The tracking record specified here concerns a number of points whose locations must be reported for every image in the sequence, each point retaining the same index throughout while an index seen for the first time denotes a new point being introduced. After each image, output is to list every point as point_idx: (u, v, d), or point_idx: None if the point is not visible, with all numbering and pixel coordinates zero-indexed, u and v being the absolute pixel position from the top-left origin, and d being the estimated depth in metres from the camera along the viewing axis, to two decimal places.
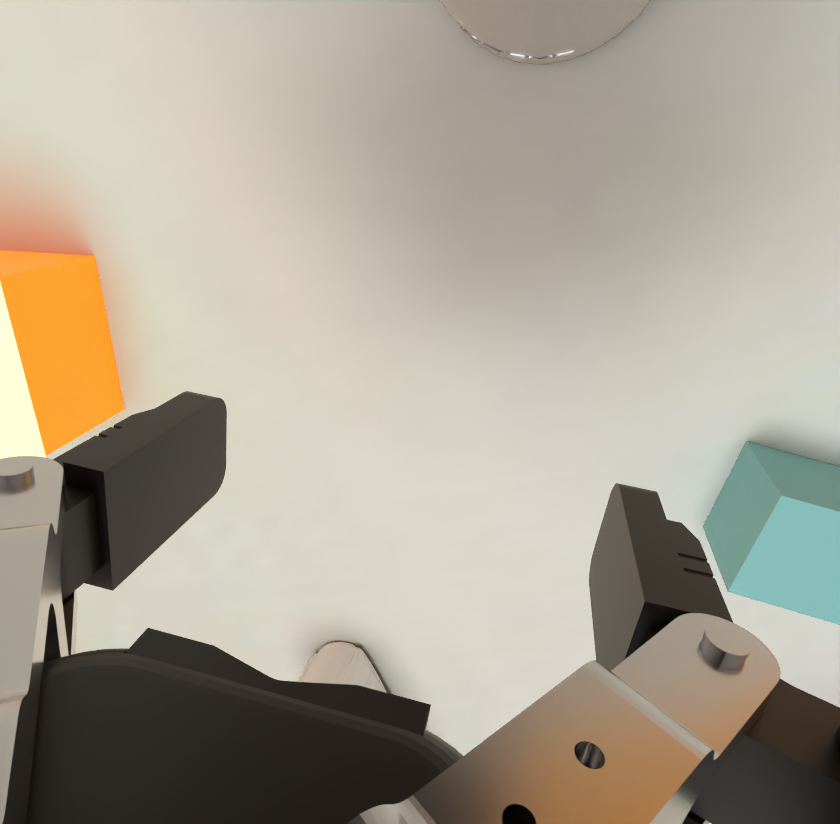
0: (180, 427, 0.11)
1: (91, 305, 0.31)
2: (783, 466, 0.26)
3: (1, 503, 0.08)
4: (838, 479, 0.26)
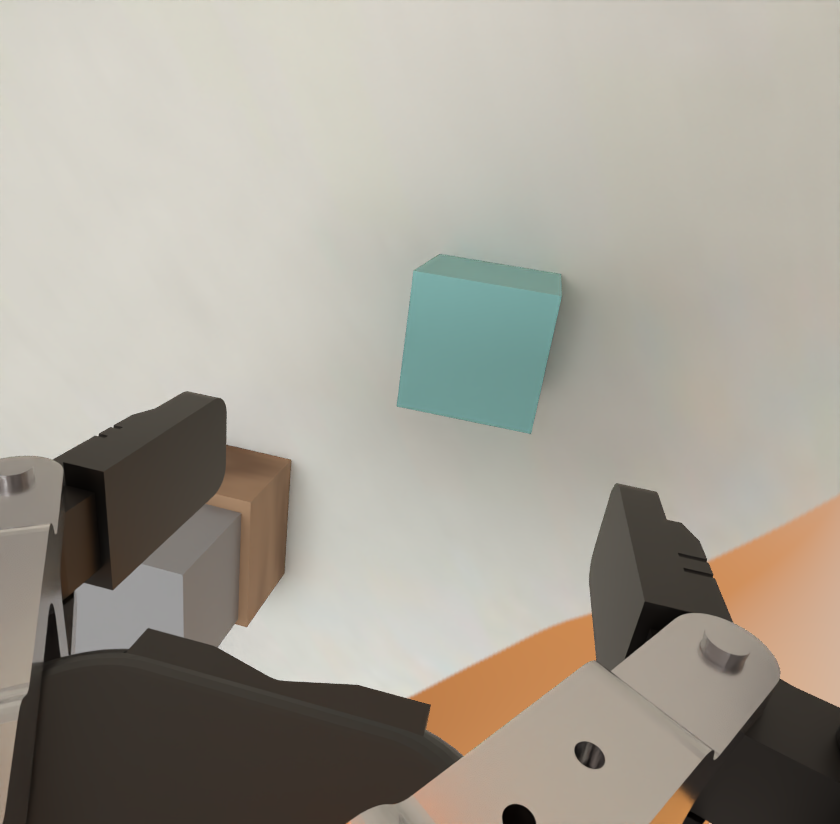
0: (180, 427, 0.11)
1: None
2: None
3: (1, 503, 0.08)
4: None
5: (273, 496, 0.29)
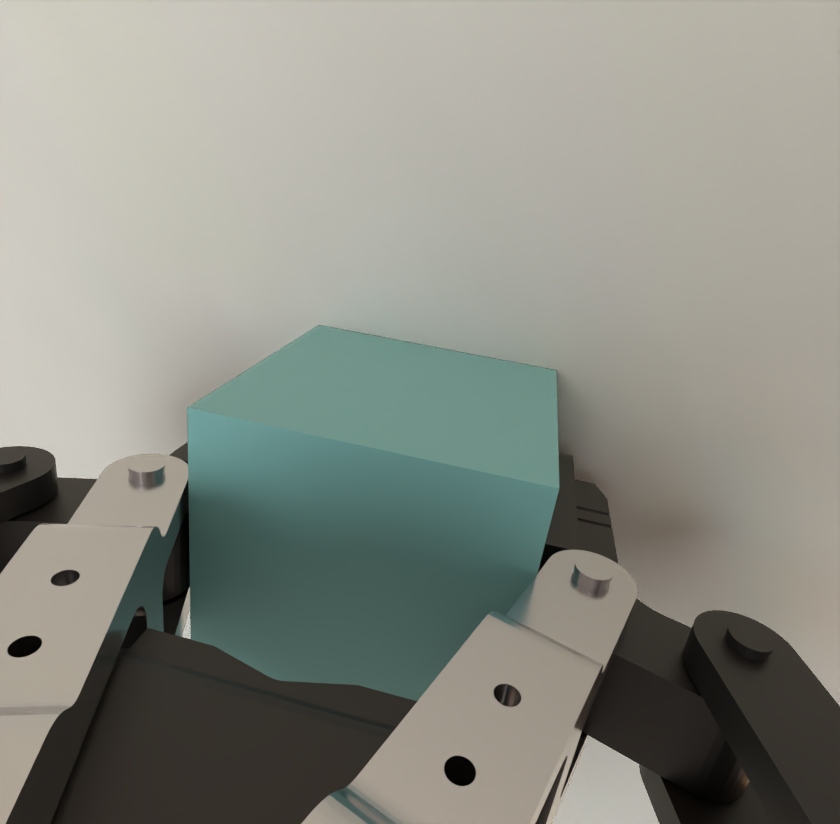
0: None
1: None
2: None
3: (145, 498, 0.08)
4: None
5: None
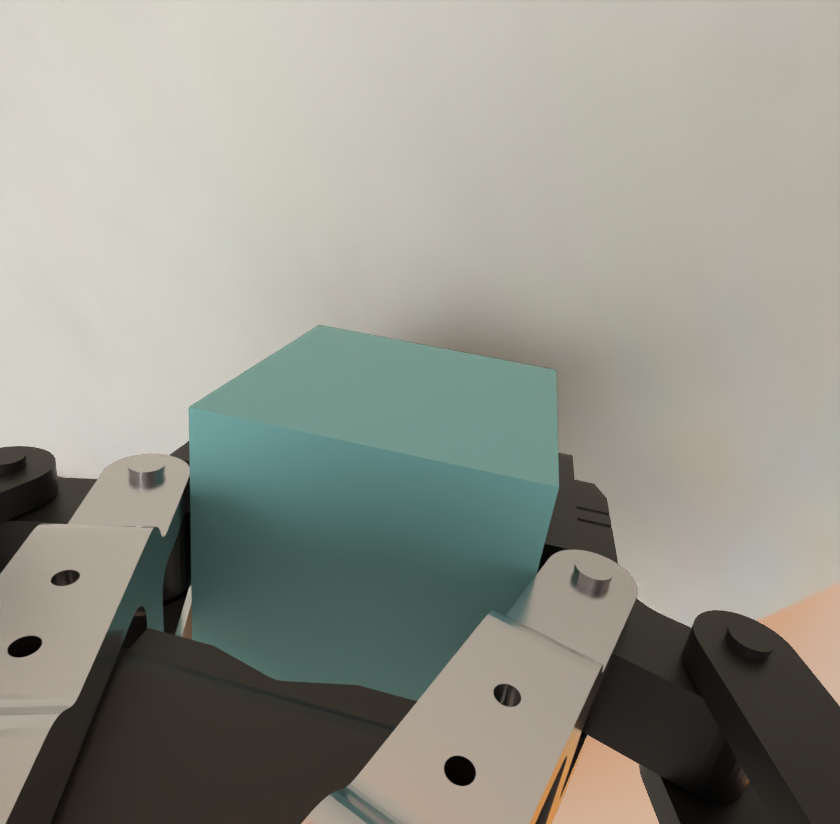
0: None
1: None
2: None
3: (146, 498, 0.08)
4: None
5: None
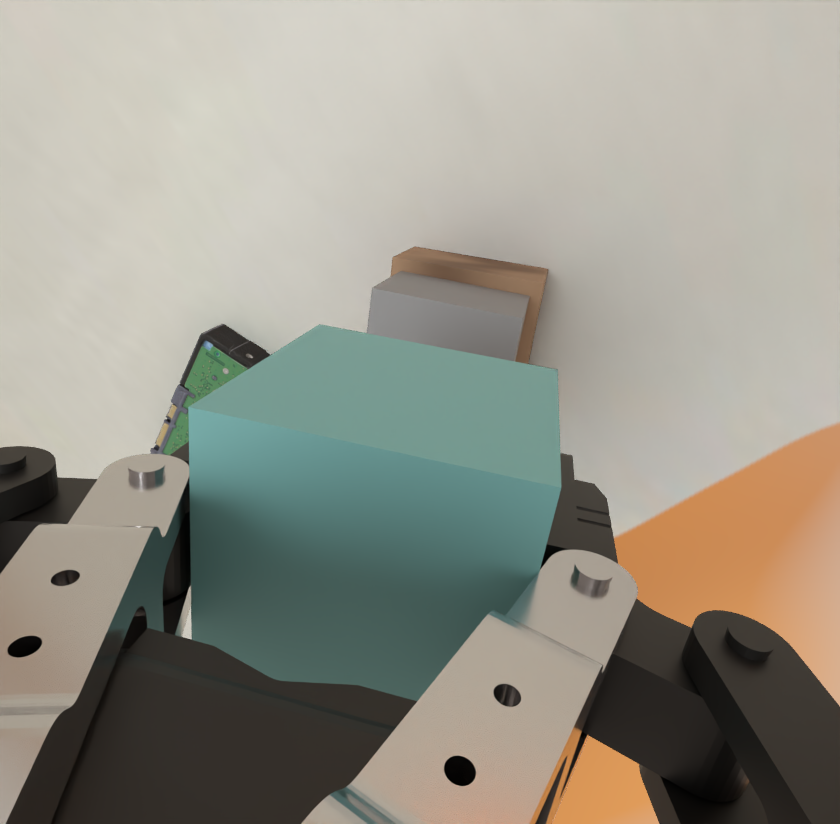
0: None
1: None
2: None
3: (146, 498, 0.08)
4: None
5: None
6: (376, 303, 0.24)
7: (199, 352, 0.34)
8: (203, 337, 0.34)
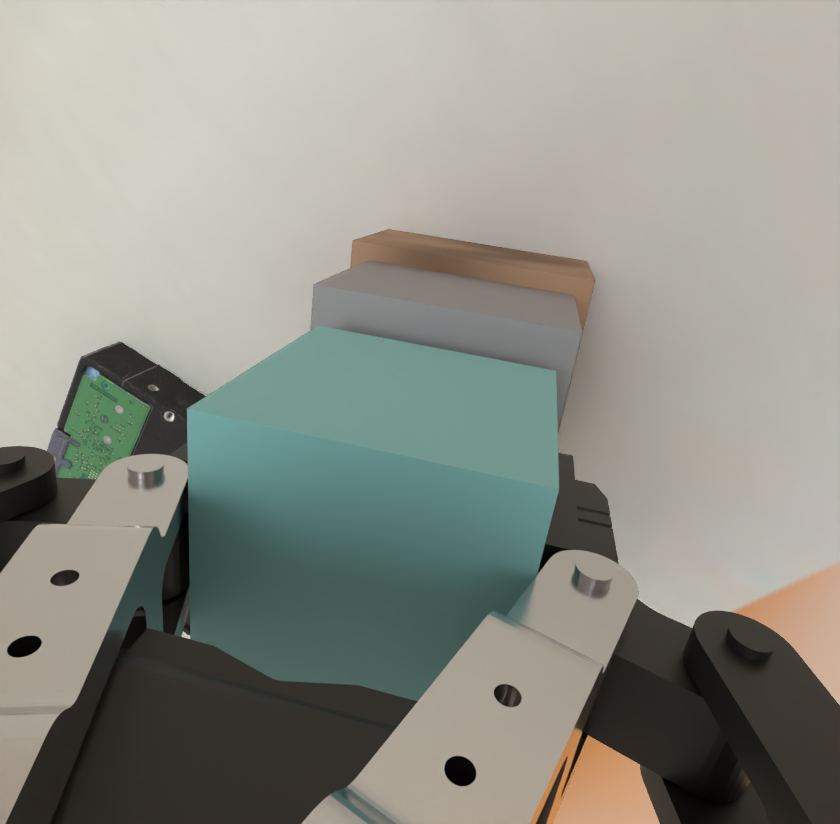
0: None
1: None
2: None
3: (145, 498, 0.08)
4: None
5: None
6: (322, 310, 0.14)
7: (81, 383, 0.24)
8: (84, 362, 0.23)
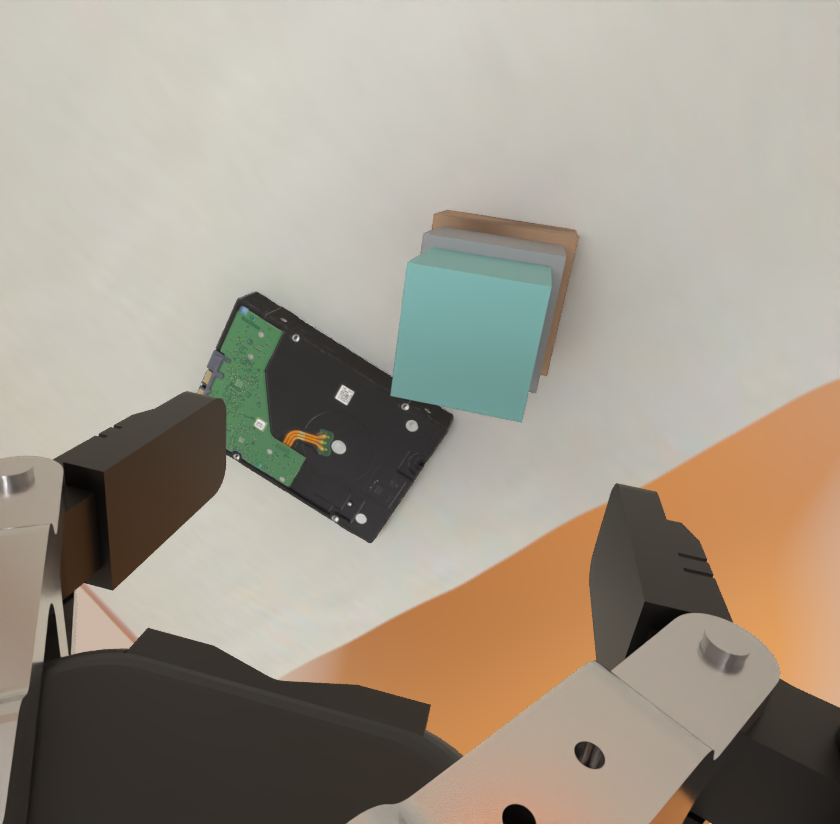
0: (180, 427, 0.11)
1: None
2: None
3: (1, 503, 0.08)
4: None
5: None
6: (427, 248, 0.25)
7: (235, 317, 0.36)
8: (239, 302, 0.35)
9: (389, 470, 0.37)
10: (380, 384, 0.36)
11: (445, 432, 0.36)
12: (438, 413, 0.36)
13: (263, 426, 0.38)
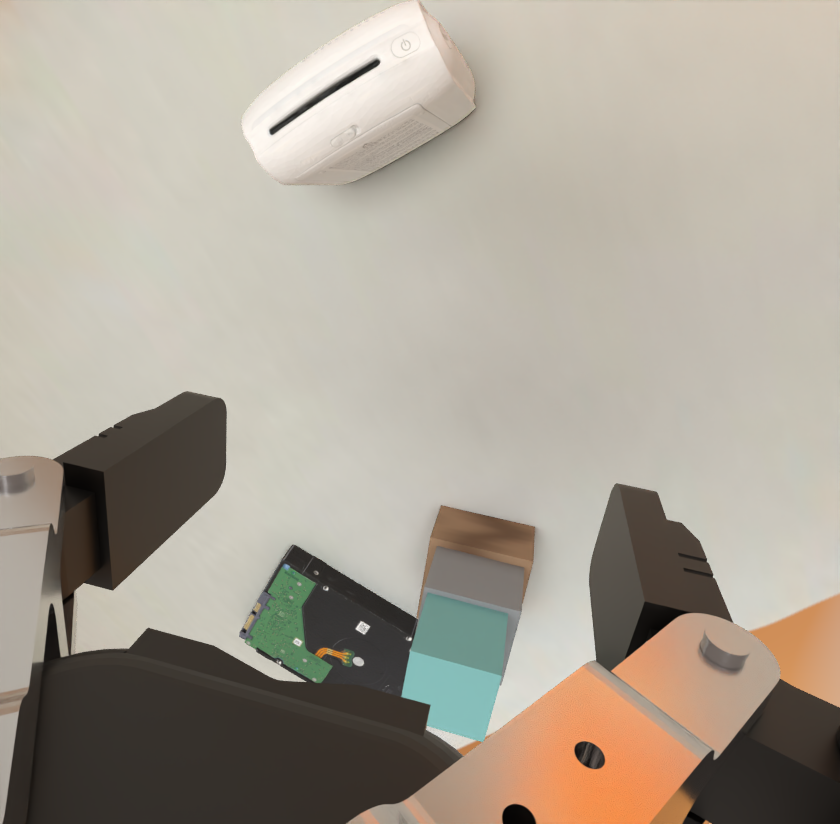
0: (180, 427, 0.11)
1: None
2: None
3: (1, 503, 0.08)
4: None
5: None
6: (426, 594, 0.37)
7: (280, 571, 0.47)
8: (283, 562, 0.47)
9: (397, 679, 0.49)
10: (390, 621, 0.47)
11: None
12: None
13: (300, 643, 0.50)
